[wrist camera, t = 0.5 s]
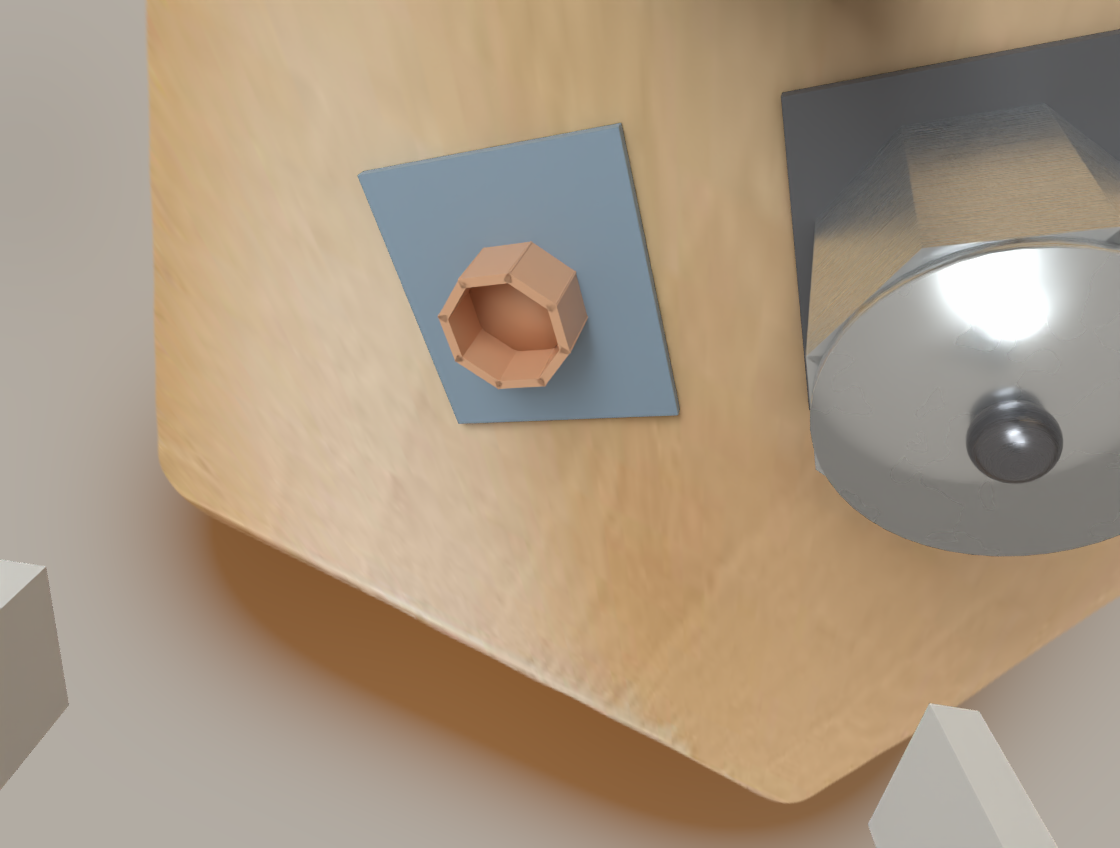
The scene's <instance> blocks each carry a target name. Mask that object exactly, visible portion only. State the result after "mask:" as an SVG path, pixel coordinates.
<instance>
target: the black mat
mask: <svg viewBox="0 0 1120 848" xmlns="http://www.w3.org/2000/svg"><path fill="white" fill-rule="evenodd" d="M781 101H782V112H783V123H784V134H785V146H786V157H787V168H788V179H789V190H790V201H791V213H792V224H793V235H794V246H795V257H796V268H797V279H798V291H799V302H800V313H801V324H802V335H803V346H804V358H805V369H806V380H807V391H808V402H809V410H810V398H809V387H808V375H807V364H806V344H807V331H808V317H809V303H810V289H811V275H812V262H813V248H814V234H815V220H816V219H817V218H818V217H819V216H820V215H821V214H822V213H823V211H824V210H825V209H826V208H827V207H828V206H829V205H830V204H831V203H832V202H833V200H834V199H835V198H836V197H837V196H838V195H839V194H840V193H841V192H842V191H843V190H844V188H845V187H846V186H847V185H848V184H849V183H850V182H851V181H852V180H853V179H854V178H855V176H856V175H857V174H858V173H859V172H860V171H861V170H862V169H863V168H864V167H865V166H866V164H867V163H868V162H869V161H870V160H871V159H872V158H873V157H874V156H875V155H876V154H877V152H878V151H879V150H880V149H881V148H882V147H883V146H884V145H885V144H886V143H887V142H888V140H889V139H890V138H891V137H892V136H893V135H894V134H895V133H896V132H897V131H898V130H899V128H900V127H901V126H907V125H913V124H919V123H925V122H931V121H937V120H943V119H949V118H956V117H962V116H968V115H974V114H980V113H986V112H992V111H999V110H1005V109H1011V108H1017V107H1023V106H1029V105H1035V104H1041V103H1045V104H1046V105H1048V106H1049V107H1050V108H1051V109H1053V110H1054V111H1055V112H1057V113H1058V114H1059V115H1060V116H1062V117H1063V118H1064V119H1065V120H1067V121H1068V122H1069V123H1071V124H1072V125H1073V126H1074V127H1076V128H1077V129H1078V130H1079V131H1081V132H1082V133H1083V134H1085V135H1086V136H1087V137H1088V138H1090V139H1091V140H1092V141H1094V142H1095V143H1096V144H1097V145H1099V146H1100V147H1101V148H1102V149H1104V150H1105V151H1106V152H1108V153H1109V154H1110V155H1111V156H1113V157H1114V158H1115V159H1116V160H1118V161H1119V162H1120V29H1118V30H1113V31H1108V32H1102V33H1097V34H1092V35H1086V36H1081V37H1076V38H1070V39H1065V40H1060V41H1054V42H1049V43H1044V44H1039V45H1033V46H1028V47H1023V48H1017V49H1012V50H1007V51H1001V52H996V53H991V54H985V55H980V56H975V57H969V58H964V59H959V60H953V61H948V62H943V63H937V64H932V65H927V66H921V67H916V68H911V69H905V70H900V71H895V72H889V73H884V74H879V75H873V76H868V77H863V78H858V79H852V80H847V81H842V82H836V83H831V84H826V85H820V86H815V87H810V88H804V89H799V90H794V91H788V92H783V93H782V95H781Z"/></svg>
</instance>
